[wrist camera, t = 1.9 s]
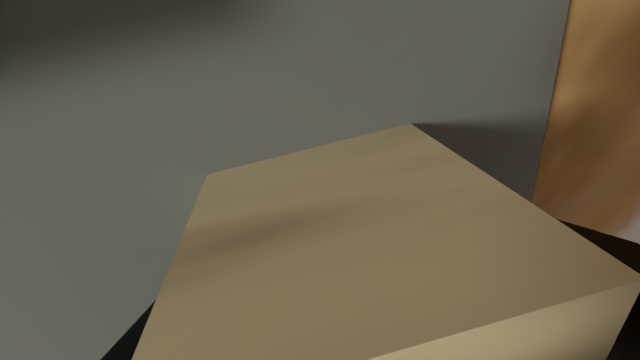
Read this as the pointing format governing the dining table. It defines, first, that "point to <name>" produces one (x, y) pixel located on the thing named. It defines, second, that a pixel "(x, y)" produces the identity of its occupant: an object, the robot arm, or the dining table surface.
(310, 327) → the oak cube
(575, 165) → the dining table surface
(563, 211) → the dining table surface
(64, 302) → the charcoal mat
